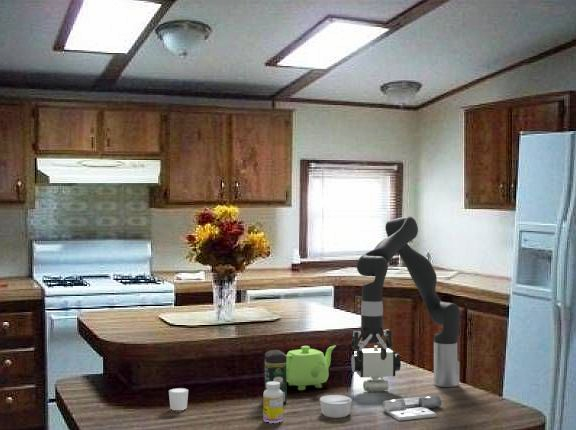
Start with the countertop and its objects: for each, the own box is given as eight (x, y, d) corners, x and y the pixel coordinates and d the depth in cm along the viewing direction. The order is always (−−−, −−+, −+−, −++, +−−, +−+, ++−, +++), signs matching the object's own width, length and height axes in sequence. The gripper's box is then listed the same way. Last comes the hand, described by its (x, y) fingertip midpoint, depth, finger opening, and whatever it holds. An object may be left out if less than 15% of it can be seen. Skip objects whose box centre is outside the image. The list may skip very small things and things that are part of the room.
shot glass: (191, 408, 252) (191, 388, 252) (182, 413, 246) (182, 393, 245) (174, 406, 254) (174, 387, 254) (165, 411, 248) (165, 391, 248)
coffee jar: (263, 398, 265) (263, 348, 265) (283, 396, 267) (283, 347, 266) (267, 405, 256) (267, 354, 255) (288, 404, 257) (288, 353, 257)
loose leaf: (418, 407, 253) (418, 395, 253) (435, 416, 241) (435, 405, 241) (382, 410, 248) (382, 399, 248) (398, 420, 237) (398, 408, 237)
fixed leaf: (425, 399, 263) (425, 388, 263) (442, 408, 251) (442, 397, 251) (390, 402, 258) (390, 392, 258) (405, 412, 247) (405, 400, 247)
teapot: (297, 397, 266) (297, 355, 266) (272, 384, 285) (272, 345, 285) (353, 389, 278) (353, 349, 278) (325, 377, 297) (325, 339, 297)
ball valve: (395, 387, 280) (395, 343, 280) (401, 393, 272) (401, 347, 272) (350, 389, 278) (350, 344, 278) (355, 394, 270) (355, 348, 269)
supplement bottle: (262, 418, 240) (262, 380, 240) (282, 417, 240) (282, 380, 240) (263, 424, 233) (263, 385, 233) (283, 423, 234) (283, 385, 234)
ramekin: (342, 421, 237) (342, 405, 237) (313, 415, 243) (313, 400, 243) (357, 412, 247) (357, 397, 247) (329, 407, 253) (329, 393, 253)
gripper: (385, 311, 250) (385, 357, 251) (348, 312, 246) (348, 359, 246) (395, 314, 243) (395, 361, 243) (357, 316, 239) (357, 363, 239)
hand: (371, 360), depth 245 cm, fingers open, 8 cm apart
